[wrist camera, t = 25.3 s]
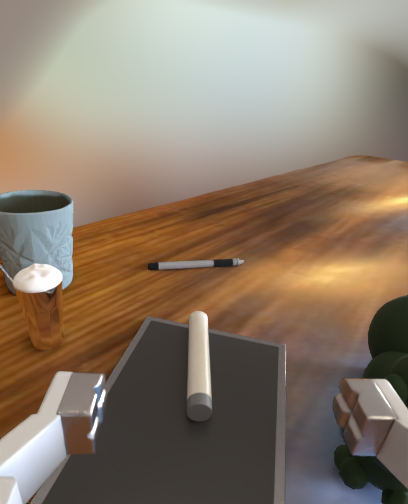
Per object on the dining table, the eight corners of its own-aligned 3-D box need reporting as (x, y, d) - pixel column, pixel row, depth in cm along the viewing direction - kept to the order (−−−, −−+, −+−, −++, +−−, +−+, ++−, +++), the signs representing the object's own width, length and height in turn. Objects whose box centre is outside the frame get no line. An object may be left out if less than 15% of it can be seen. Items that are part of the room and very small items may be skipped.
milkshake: (17, 333, 38) (1, 255, 34) (68, 324, 40) (59, 249, 36) (15, 361, 35) (-3, 277, 30) (71, 349, 37) (61, 269, 32)
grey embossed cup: (-16, 287, 46) (-36, 202, 41) (42, 257, 54) (32, 184, 49) (42, 308, 43) (28, 220, 37) (94, 273, 51) (89, 197, 46)
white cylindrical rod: (217, 410, 29) (211, 316, 40) (196, 400, 28) (196, 307, 40) (202, 425, 29) (200, 328, 41) (181, 415, 29) (185, 320, 40)
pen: (147, 268, 54) (147, 261, 54) (243, 263, 58) (244, 256, 58) (148, 272, 53) (148, 265, 52) (246, 266, 57) (247, 259, 57)
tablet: (281, 647, 18) (285, 641, 18) (6, 550, 21) (4, 543, 21) (284, 349, 39) (286, 343, 39) (147, 320, 42) (147, 315, 42)
